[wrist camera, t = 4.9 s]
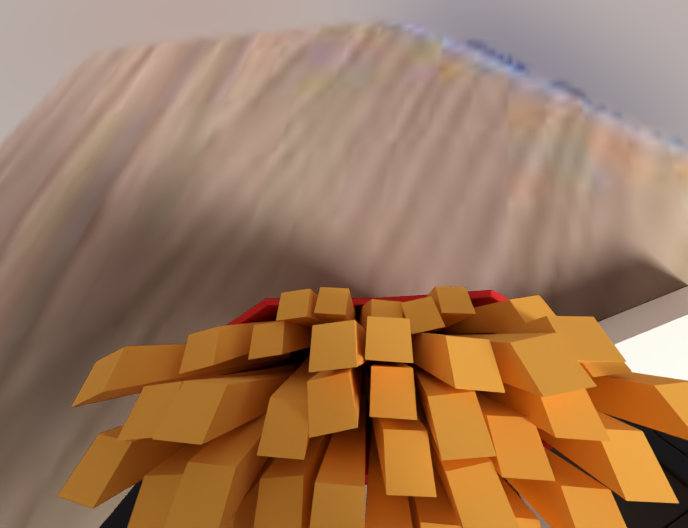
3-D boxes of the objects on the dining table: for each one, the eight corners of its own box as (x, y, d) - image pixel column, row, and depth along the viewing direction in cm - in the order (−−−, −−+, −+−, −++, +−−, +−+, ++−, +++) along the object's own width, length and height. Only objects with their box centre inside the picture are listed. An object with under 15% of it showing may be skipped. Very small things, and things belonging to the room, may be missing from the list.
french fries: (440, 311, 16) (732, 240, 4) (449, 392, 15) (881, 660, 3) (278, 317, 17) (44, 268, 4) (277, 397, 16) (-39, 673, 3)
